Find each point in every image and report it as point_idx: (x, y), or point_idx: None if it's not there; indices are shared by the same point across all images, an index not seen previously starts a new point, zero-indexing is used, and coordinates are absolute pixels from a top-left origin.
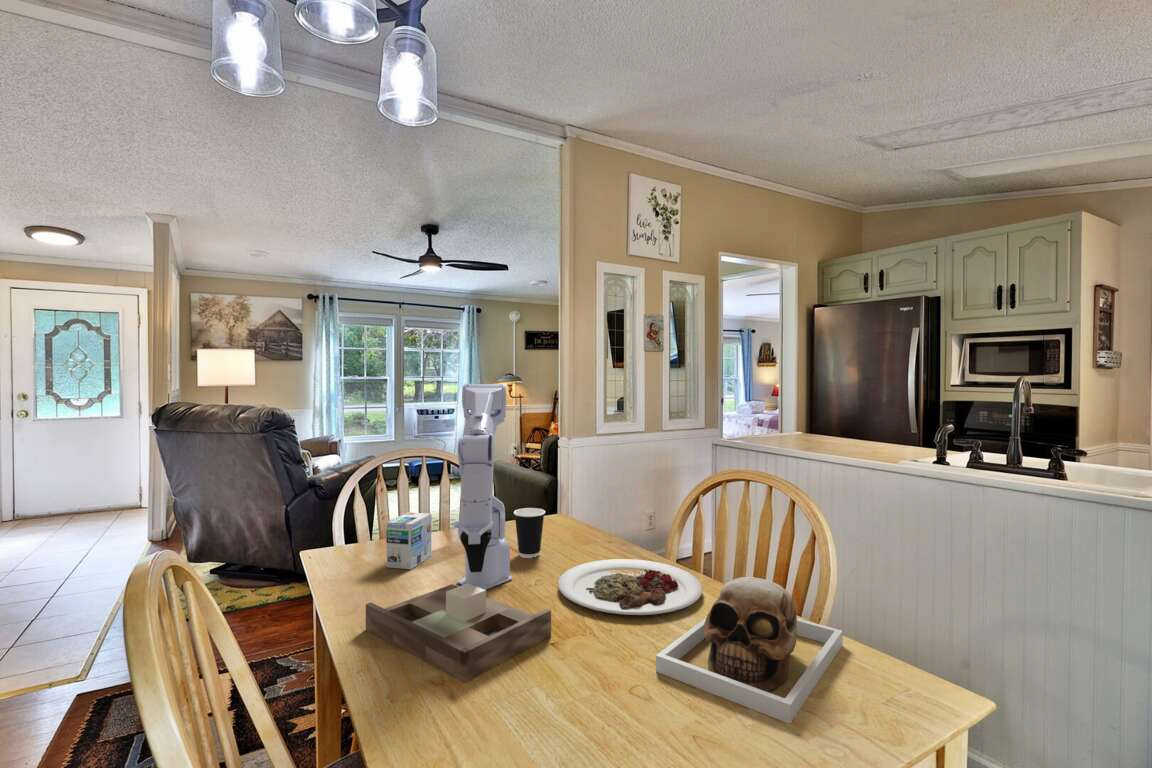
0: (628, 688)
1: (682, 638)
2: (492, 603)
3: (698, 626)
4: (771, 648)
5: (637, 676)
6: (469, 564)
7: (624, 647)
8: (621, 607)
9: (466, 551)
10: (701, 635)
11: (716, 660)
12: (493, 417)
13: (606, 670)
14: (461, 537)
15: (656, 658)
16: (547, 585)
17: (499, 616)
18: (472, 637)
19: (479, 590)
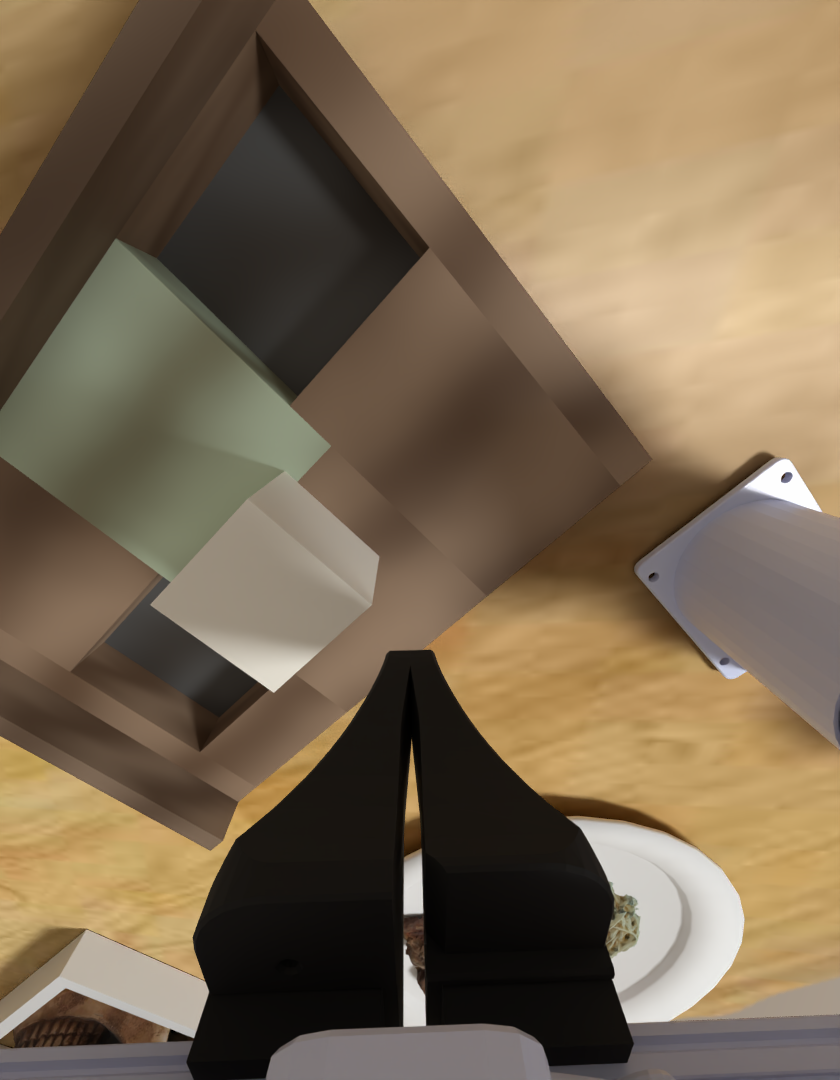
0: (5, 884)
1: (152, 1018)
2: (385, 647)
3: None
4: None
5: (60, 902)
6: (374, 682)
7: (191, 897)
8: (406, 918)
9: (324, 759)
10: None
11: (65, 1040)
12: None
13: (74, 859)
14: (215, 912)
15: (64, 967)
16: (626, 772)
17: None
18: (70, 596)
19: (269, 665)
